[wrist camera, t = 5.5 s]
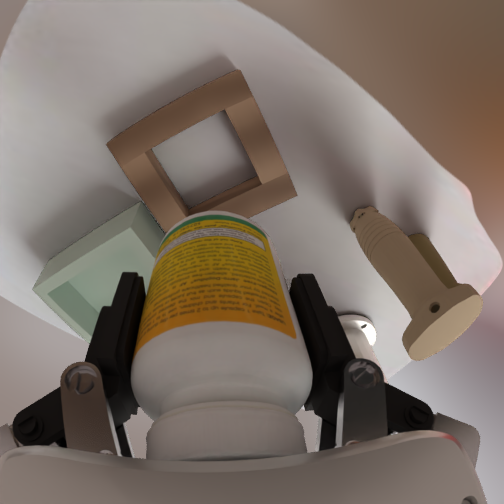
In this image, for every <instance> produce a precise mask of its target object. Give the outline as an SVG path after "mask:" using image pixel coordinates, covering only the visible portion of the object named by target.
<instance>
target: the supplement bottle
mask: <svg viewBox="0 0 504 504" xmlns="http://www.w3.org/2000/svg"><path fill="white" fill-rule="evenodd" d="M312 379H313V372H312V367H311V362H310V358H309V355H308V352H307V348H306V345H305V341H304V338H303V335H302V332H301V329H300V326H299V322H298V319H297V316H296V313H295V309H294V307H293V304H292V301H291V297H290V294H289V291H288V288H287V284H286V281H285V278H284V275H283V272H282V268H281V265H280V262H279V259H278V255H277V253H276V250H275V247H274V245H273V243H272V241H271V239H270V238H269V236H268V235H267V233H266V232H265V231H264V230H263V229H262V228H261V227H260V226H259V225H258V224H256V223H255V222H253V221H252V220H249V219H247V218H245V217H243V216H240V215H237V214H234V213H230V212H225V211H206V212H201V213H197V214H194V215H191V216H188V217H186V218H184V219H183V220H181V221H180V222H178V223H177V224H175V225H174V226H173V227H172V228H171V229H170V230H169V231H168V232H167V234H166V235H165V237H164V238H163V240H162V242H161V244H160V247H159V250H158V253H157V256H156V260H155V263H154V267H153V271H152V275H151V278H150V282H149V287H148V291H147V295H146V298H145V303H144V307H143V312H142V316H141V321H140V325H139V330H138V335H137V341H136V346H135V351H134V355H133V359H132V365H131V387H132V390H133V393H134V396H135V398H136V400H137V402H138V404H139V406H140V407H141V408H142V410H143V411H144V412H145V413H146V414H147V415H148V416H149V417H150V418H151V419H153V420H154V422H153V424H152V426H151V428H150V430H149V431H148V433H147V437H146V442H147V453H146V459H152V460H168V461H236V460H252V459H264V458H274V457H283V456H291V455H298V454H305V453H307V448H306V443H305V439H304V430H303V426H302V424H301V423H300V422H299V421H298V419H297V417H296V416H295V414H296V413H297V412H298V411H299V410H300V409H301V408H302V406H303V405H304V403H305V402H306V400H307V398H308V396H309V394H310V391H311V387H312Z"/></svg>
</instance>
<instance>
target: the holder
mask: <svg viewBox="0 0 504 504" xmlns="http://www.w3.org/2000/svg"><path fill="white" fill-rule="evenodd" d="M224 109H225V111H226V113H227V115H228V117H229V119H230V121H231V122H232V124H233V126H234V128H235V130H236V132H237V134H238V136H239V138H240V140H241V142H242V144H243V146H244V148H245V150H246V152H247V154H248V156H249V158H250V160H251V162H252V164H253V166H254V168H255V170H256V173H257V175H258V176H256V177H254V178H252V179H250V180H248V181H245V182H243V183H241V184H239V185H237V186H235V187H233V188H231V189H229V190H227V191H225V192H223V193H221V194H219V195H217V196H215V197H213V198H211V199H209V200H207V201H205V202H203V203H201V204H199V205H197V206H195V207H193V208H191V209H188V207H187V206H186V204H185V203H184V201H183V199H182V198H181V196H180V195H179V193H178V191H177V190H176V188H175V187H174V185H173V184H172V182H171V180H170V179H169V177H168V176H167V174H166V172H165V171H164V169H163V168H162V166H161V164H160V163H159V161H158V160H157V158H156V156H155V155H154V153H153V151H152V150H151V148H153V147H155V146H157V145H158V144H160V143H162V142H163V141H165V140H167V139H169V138H170V137H172V136H174V135H176V134H178V133H180V132H181V131H183V130H185V129H187V128H189V127H191V126H193V125H194V124H196V123H198V122H200V121H202V120H204V119H206V118H208V117H210V116H212V115H214V114H216V113H218V112H220V111H222V110H224ZM106 145H107V147H108V148H109V150H110V151H111V153H112V154H113V156H114V158H115V159H116V161H117V162H118V164H119V165H120V167H121V168H122V170H123V171H124V173H125V174H126V176H127V177H128V179H129V180H130V182H131V183H132V185H133V186H134V188H135V189H136V191H137V192H138V194H139V195H140V197H141V198H142V200H143V201H144V203H145V204H146V205H147V207H148V208H149V210H150V211H151V213H152V214H153V216H154V217H155V218H156V220H157V221H158V223H159V224H160V225H161V227H162V228H163V230H164V231H165V233H166V234H167V232H168V231H169V230H170V229H171V228H172V227H173V226H174V225H175V224H177V223H178V222H180V221H181V220H183V219H184V218H186V217H188V216H191V215H194V214H197V213H201V212H206V211H225V212H230V213H234V214H237V215H240V216H243V217H245V218H247V219H248V218H250V217H252V216H254V215H256V214H258V213H260V212H263V211H265V210H267V209H269V208H271V207H273V206H276V205H278V204H280V203H282V202H284V201H287V200H289V199H291V198H293V197H295V196H298V195H297V193H296V191H295V188H294V186H293V183H292V181H291V179H290V176H289V174H288V172H287V169H286V167H285V165H284V162H283V160H282V158H281V156H280V153H279V151H278V149H277V147H276V144H275V142H274V140H273V138H272V135H271V133H270V131H269V129H268V127H267V124H266V122H265V120H264V118H263V116H262V114H261V112H260V110H259V107H258V105H257V103H256V101H255V99H254V97H253V95H252V93H251V91H250V89H249V87H248V85H247V83H246V81H245V79H244V77H243V75H242V73H241V71H240V70H235V71H233V72H231V73H228V74H226V75H224V76H222V77H220V78H218V79H216V80H213V81H211V82H209V83H207V84H205V85H203V86H201V87H199V88H197V89H195V90H193V91H191V92H189V93H188V94H186V95H184V96H182V97H180V98H178V99H176V100H174V101H173V102H171V103H169V104H167V105H166V106H164V107H162V108H160V109H159V110H157V111H155V112H153V113H152V114H150V115H148V116H147V117H145V118H143V119H142V120H140V121H139V122H137V123H135V124H134V125H132V126H131V127H129V128H127V129H126V130H124V131H123V132H121V133H120V134H118V135H117V136H115V137H114V138H113V139H111V140H110V141H109V142H108V143H107V144H106Z"/></svg>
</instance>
